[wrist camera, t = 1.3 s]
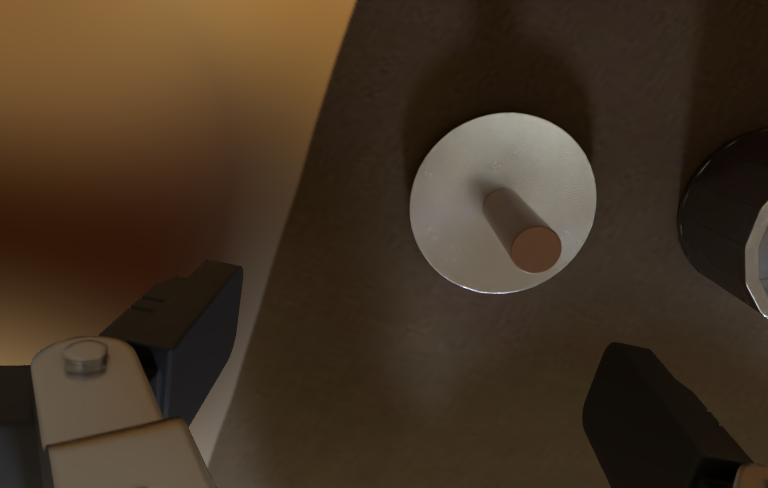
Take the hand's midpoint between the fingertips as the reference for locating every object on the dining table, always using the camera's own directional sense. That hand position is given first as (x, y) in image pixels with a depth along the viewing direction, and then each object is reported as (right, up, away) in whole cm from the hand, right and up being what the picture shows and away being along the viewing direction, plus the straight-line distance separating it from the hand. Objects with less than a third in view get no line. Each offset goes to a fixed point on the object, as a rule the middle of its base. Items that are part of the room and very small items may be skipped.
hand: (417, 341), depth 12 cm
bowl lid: (+7, +4, +22) cm, 23 cm away
